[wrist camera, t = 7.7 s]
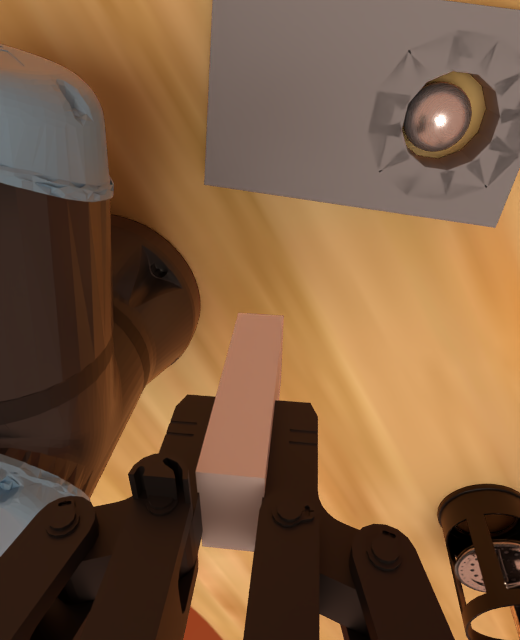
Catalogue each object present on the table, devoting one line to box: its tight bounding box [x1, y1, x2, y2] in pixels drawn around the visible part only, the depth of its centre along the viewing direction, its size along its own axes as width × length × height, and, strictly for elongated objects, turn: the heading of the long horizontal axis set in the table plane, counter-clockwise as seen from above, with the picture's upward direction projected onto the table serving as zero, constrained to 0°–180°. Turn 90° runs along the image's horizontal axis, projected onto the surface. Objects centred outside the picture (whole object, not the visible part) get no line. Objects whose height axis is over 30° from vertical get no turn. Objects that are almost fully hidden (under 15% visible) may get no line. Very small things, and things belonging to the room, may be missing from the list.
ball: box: [404, 82, 472, 151], centre depth 30 cm, size 4×4×4 cm
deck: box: [204, 0, 520, 228], centre depth 30 cm, size 20×12×3 cm, turn 84°
